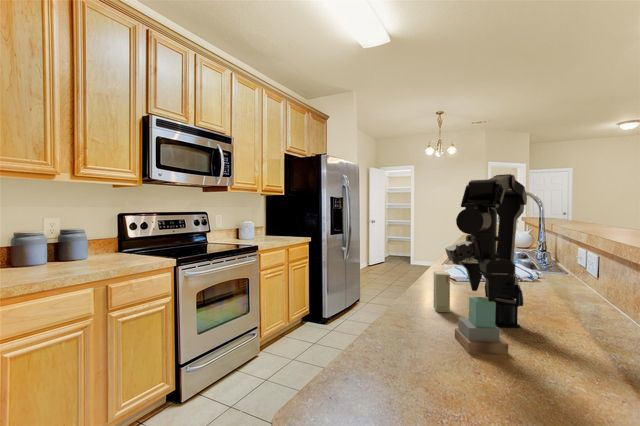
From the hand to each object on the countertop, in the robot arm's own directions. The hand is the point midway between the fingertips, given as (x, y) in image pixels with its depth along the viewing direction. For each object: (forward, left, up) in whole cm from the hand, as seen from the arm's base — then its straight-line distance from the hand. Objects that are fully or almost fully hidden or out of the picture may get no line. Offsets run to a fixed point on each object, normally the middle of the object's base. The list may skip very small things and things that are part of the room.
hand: (482, 295), depth 80 cm
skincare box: (+1, -28, -13) cm, 31 cm away
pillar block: (0, 0, -7) cm, 7 cm away
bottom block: (0, -1, -13) cm, 13 cm away
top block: (0, -1, -10) cm, 10 cm away
